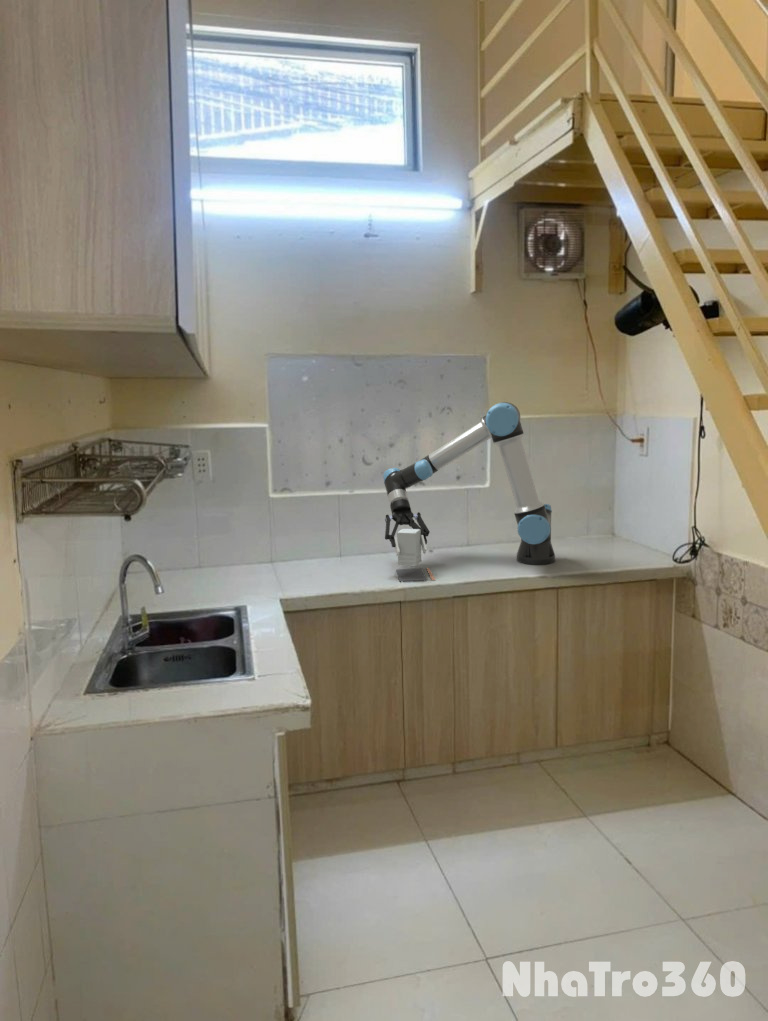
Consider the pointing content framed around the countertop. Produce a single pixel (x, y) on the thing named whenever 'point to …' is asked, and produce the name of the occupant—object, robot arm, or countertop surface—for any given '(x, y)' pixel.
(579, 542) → the countertop surface
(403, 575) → the mat
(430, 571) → the terracotta line
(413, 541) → the supplement box
